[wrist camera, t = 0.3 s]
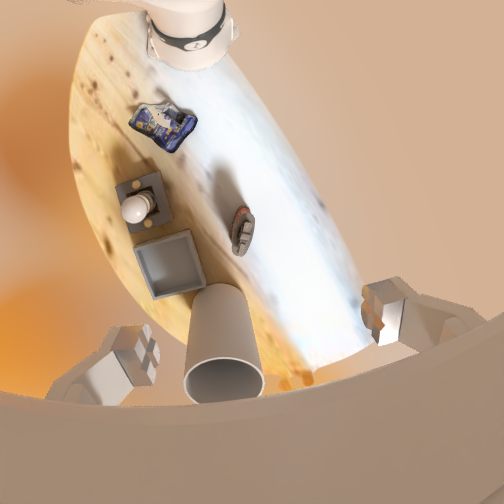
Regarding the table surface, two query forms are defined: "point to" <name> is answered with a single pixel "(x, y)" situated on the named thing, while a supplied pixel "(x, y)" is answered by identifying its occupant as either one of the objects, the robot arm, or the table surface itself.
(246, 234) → the lighter
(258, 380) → the cylinder vase
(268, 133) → the table surface
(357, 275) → the table surface
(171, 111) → the snack package
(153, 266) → the tray
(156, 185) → the block
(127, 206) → the ball
